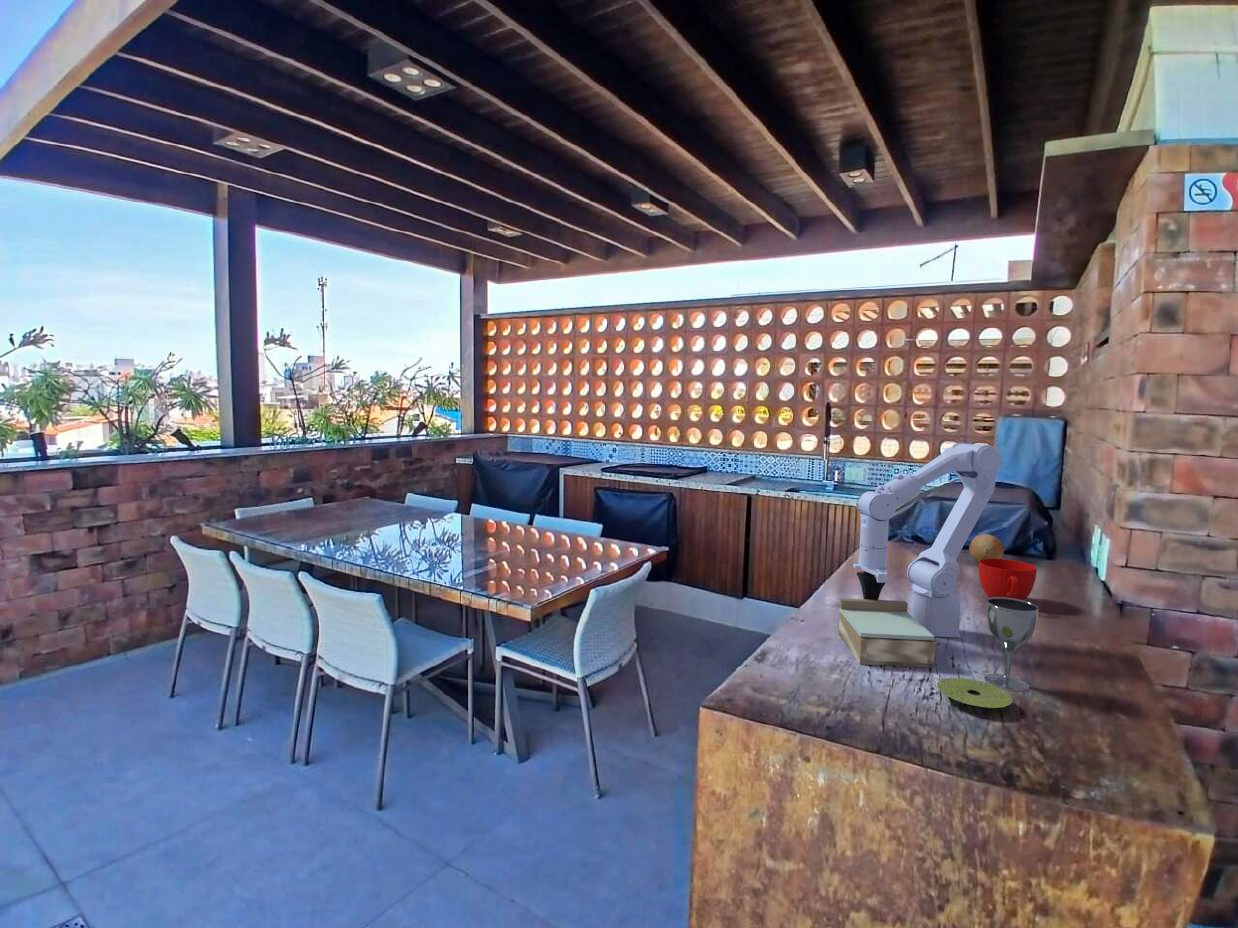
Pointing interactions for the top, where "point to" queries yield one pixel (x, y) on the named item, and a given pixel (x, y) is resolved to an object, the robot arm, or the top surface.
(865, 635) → the lid
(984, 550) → the onion
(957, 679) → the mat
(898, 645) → the box
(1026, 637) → the wine glass
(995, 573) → the ceramic cup
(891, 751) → the top surface
